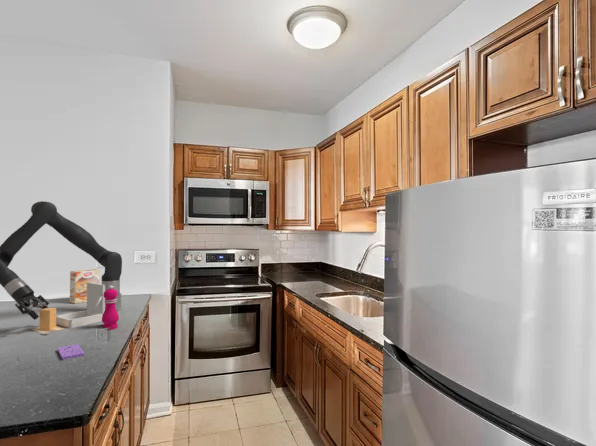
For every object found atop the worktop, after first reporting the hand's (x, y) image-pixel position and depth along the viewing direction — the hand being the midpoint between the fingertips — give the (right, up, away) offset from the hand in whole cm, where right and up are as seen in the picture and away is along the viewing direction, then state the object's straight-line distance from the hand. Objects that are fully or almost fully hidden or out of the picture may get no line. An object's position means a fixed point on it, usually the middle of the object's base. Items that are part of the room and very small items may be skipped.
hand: (43, 315), depth 167 cm
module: (+2, -6, 0) cm, 6 cm away
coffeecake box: (-18, -7, +64) cm, 67 cm away
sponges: (+30, -8, -28) cm, 41 cm away
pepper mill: (+27, -7, +6) cm, 29 cm away
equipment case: (+9, -7, +12) cm, 17 cm away
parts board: (+2, -7, 0) cm, 7 cm away
